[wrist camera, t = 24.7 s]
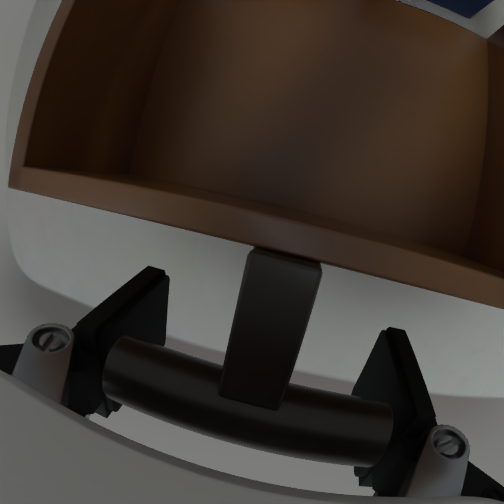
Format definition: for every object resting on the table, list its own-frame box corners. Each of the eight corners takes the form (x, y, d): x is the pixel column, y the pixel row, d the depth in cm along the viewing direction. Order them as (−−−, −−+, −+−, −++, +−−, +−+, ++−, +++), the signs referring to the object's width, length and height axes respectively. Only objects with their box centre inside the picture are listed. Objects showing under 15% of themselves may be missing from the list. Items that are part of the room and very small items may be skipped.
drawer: (108, 285, 13) (-8, 342, 6) (183, -19, 10) (118, -109, 4) (428, 367, 11) (494, 476, 5) (491, 49, 8) (574, -15, 2)
